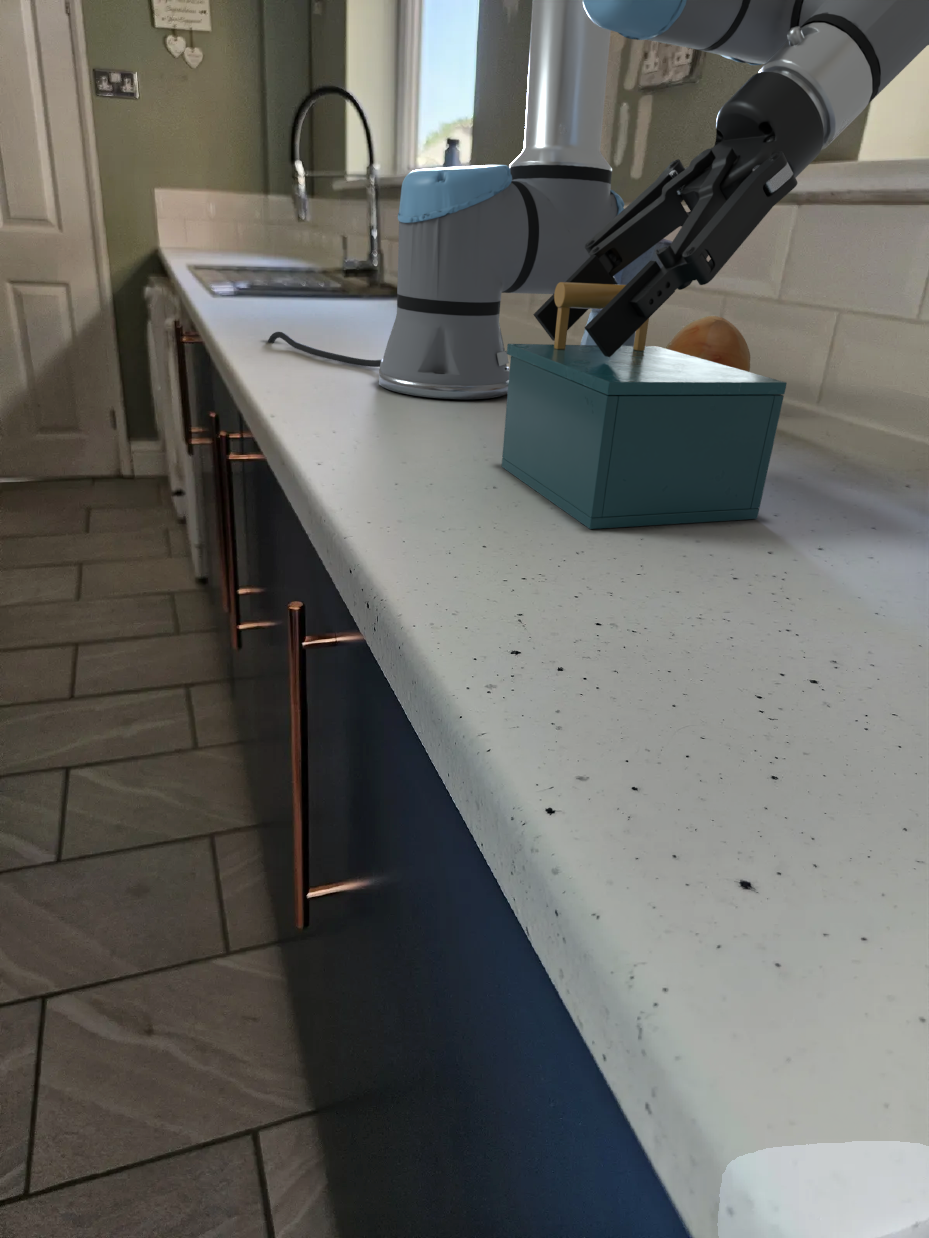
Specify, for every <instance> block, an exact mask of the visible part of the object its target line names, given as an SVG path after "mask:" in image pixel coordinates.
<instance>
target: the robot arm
mask: <svg viewBox="0 0 929 1238" xmlns="http://www.w3.org/2000/svg"><path fill="white" fill-rule="evenodd" d="M531 5H532V6H531V22H530V39H529V55H528V70H527V71H528V74H527V89H526V91H527V92H526V105H525V107H526V109H525V122H524V123H525V124H524V125H525V126H524V128H525V129H524V139H523V149H522V151H521V153H520V154H519V155H518V156H517V157H516V158H515V159H514V160H513V161H512V162H511V163H510V164H509V165H507V164H485V165H484V164H483V165H466V166H465V165H462V166H447V167H446V166H445V167H433V168H432V167H431V168H420V169H415V170H412V171H410V172H409V173H407V175H406V176H405V177H404V179H403V181H402V183H401V190H400V200H399V209H398V213H397V221H398V246H397V247H398V249H397V250H398V252H397V256H398V257H397V287H396V288H397V290H396V291H397V293H396V294H397V295H396V315H395V319H394V322H393V326H392V328H391V331H390V334H389V336H388V340H387V344H386V346H385V350H384V354H383V358H382V359H366V358H365V359H364V358H357V357H353V356H348V355H342V354H338V353H334V352H330V351H325V350H323V349H318V348H315V347H312V346H310V345H306V344H305V343H304V344H303V343H300V342H297V341H296V340H295V339H293V338H292V337H290V336H289V335H288V334H286V333H285V332H283V331H275V332H273V333H272V334H271V335H269V337H268V339H267V343H269V344H270V343H271V344H272V343H275V342H276V340H277V339H281V340H283V341H284V342H286V343H287V344H288V345H289V346H291V347H292V348H294V349H297V350H299V351H302V352H304V353H307V354H310V355H313V356H316V357H320V358H323V359H328V360H331V361H335V362H336V361H337V362H340V363H345V364H350V365H356V366H361V367H368V368H369V367H370V368H379V369H378V384H379V386H381V387H382V388H384V389H387V390H389V391H391V392H396V393H399V394H405V395H410V396H415V397H422V398H432V399H442V400H443V399H444V400H482V399H483V400H485V399H492V398H499V397H503V396H505V395H508V383H509V372H510V366H508V365H509V364H510V361H509V355H508V354H507V350H506V349H505V343H504V340H503V339H504V338H503V334H502V329H501V325H500V314H501V313H500V312H501V302H502V301H501V300H502V294H530V295H532V294H533V295H551V296H550V297H549V298H547V300H546V301H545V302H544V303H543V304H542V305H541V306H540V307H539V308H538V309H537V310H536V311H535V312H534V313H533V317H534V318H535V319H536V320H537V322H538V323H539V325H540V326H541V327H542V328H543V330H544V331H545V332H546V334H547V336H548V337H549V338H550V339H551V340H552V341H553V342H554V341H555V332H556V322H557V312H558V307H557V306H556V304H555V300H554V293H555V288H556V286H557V284H558V283H560V282H571V283H593V284H615V285H617V284H618V283H617V281H616V279H615V277H614V275H615V274H617V273H618V272H619V271H621V270H622V269H624V268H625V267H626V266H628V265H629V264H630V263H632V262H633V261H634V260H636V259H637V258H638V257H640V256H641V255H642V254H644V253H645V252H646V251H648V250H649V249H650V248H652V247H653V246H654V245H656V244H657V243H658V242H660V241H661V240H662V239H666V238H667V237H668V236H669V235H670V234H671V233H673V232H675V231H676V230H677V229H679V228H680V229H679V230H678V232H677V234H676V235H675V237H673V238H674V239H672V243H671V245H669V246H668V247H667V246H666V247H663V248H660V249H659V251H660V252H659V251H658V249H657V250H656V251H655V253H656V255H657V256H658V258H659V260H660V261H661V263H662V265H663V267H662V268H660V267H659V265H658V263H657V262H656V261H649V262H648V263H647V264H646V265H645V267H644V268H643V269H642V270H641V271H640V272H639V273H638V274H637V275H636V276H635V277H634V278H633V279H632V280H631V281H630V282H629V283H628V284H627V285H626V286H625V287H624V288H623V289H622V290H621V291H620V292H619V293H618V294H617V295H616V296H615V297H614V298H613V299H612V300H611V301H610V302H609V303H608V304H607V305H606V306H605V307H604V308H603V309H602V310H601V311H600V312H599V313H598V314H597V315H596V316H595V317H594V318H593V319H592V320H591V321H590V322H589V323H588V324H587V323H586V324H587V325H586V324H585V326H584V330H585V329H586V331H587V332H588V333H589V335H590V336H591V338H592V339H593V340H594V342H595V343H596V345H597V346H598V347H599V349H600V350H601V351H602V353H603V354H604V356H606V357H611V356H612V355H613V354H614V353H615V352H616V351H617V350H618V349H619V348H620V347H621V346H622V345H623V344H624V343H625V342H626V341H627V340H628V339H629V338H630V337H631V336H632V335H633V334H634V333H635V332H636V331H637V330H638V329H639V328H640V327H641V326H642V325H643V324H644V322H645V321H646V320H647V319H648V318H649V319H650V318H651V317H652V316H653V314H655V313H656V312H657V311H658V309H660V307H661V306H663V305H664V303H666V301H668V299H669V298H671V296H672V295H674V294H675V292H676V290H679V291H680V290H683V289H687V288H688V287H689V286H690V285H691V284H692V283H693V282H694V281H696V282H697V283H698V285H699V286H705V285H707V284H709V283H710V282H712V280H713V279H714V278H715V277H716V276H717V275H718V273H719V272H720V271H721V270H722V268H724V266H725V265H726V264H727V262H728V261H729V260H730V259H731V257H733V255H734V254H735V253H736V252H737V251H738V249H739V248H740V247H741V246H742V244H743V243H744V242H745V241H746V240H747V239H748V237H749V236H750V235H751V234H752V233H753V232H754V230H755V229H756V228H757V227H758V226H759V224H760V223H761V222H762V221H763V220H764V218H765V217H766V216H767V215H768V213H769V212H770V211H771V210H772V209H773V208H774V206H775V205H777V204H778V203H779V202H780V201H781V200H782V199H783V198H785V197H786V196H787V195H789V193H791V192H792V191H793V190H794V189H795V188H796V187H797V185H798V181H797V177H799V175H801V173H802V172H803V171H804V170H805V169H806V168H807V167H808V166H809V165H810V164H811V163H812V162H813V161H814V160H815V159H816V158H817V157H818V156H819V155H820V153H821V151H823V150H825V149H827V148H828V147H829V146H830V144H832V143H833V141H834V140H835V139H836V138H838V137H839V136H840V135H841V133H842V132H843V131H844V130H845V129H846V128H847V127H849V125H851V124H852V123H853V122H854V120H856V119H857V117H858V116H859V115H861V114H862V112H864V110H865V109H866V107H867V106H868V105H869V104H870V103H871V102H872V101H873V100H874V99H875V98H876V97H878V95H879V94H880V93H881V92H883V90H884V89H886V87H887V86H889V84H890V83H891V82H892V81H893V80H894V79H895V78H896V77H898V75H899V74H901V72H902V71H903V70H904V69H905V68H907V66H908V65H909V64H911V62H912V61H914V60H915V58H917V56H919V55H920V54H921V52H923V51H924V50H925V48H927V47H928V46H929V0H532V3H531ZM612 32H615V33H618V35H620V36H622V37H623V38H626V39H629V40H637V41H644V40H645V41H651V42H656V43H662V44H666V45H672V46H677V47H683V48H689V49H692V50H693V49H694V50H697V51H700V52H701V51H702V52H705V53H711V54H714V55H715V54H716V55H719V56H722V57H723V58H725V59H728V60H732V61H734V62H736V63H740V64H741V63H742V64H748V65H750V66H761V65H762V67H761V68H760V69H759V70H758V72H757V73H755V74H753V75H752V76H751V77H750V78H748V79H747V81H746V82H745V83H744V84H743V85H742V86H740V88H739V89H738V90H737V91H736V92H735V93H734V94H732V96H731V97H730V98H729V99H728V100H727V101H726V102H725V103H724V104H722V106H721V108H720V109H719V111H718V113H717V116H716V122H715V130H716V132H715V133H716V134H715V142H714V145H713V146H712V147H711V148H706V149H704V150H703V151H702V152H700V153H699V154H698V155H696V156H695V157H694V158H692V160H691V161H690V163H689V165H688V166H686V167H685V166H684V164H683V163H682V161H681V159H679V158H678V159H675V160H672V161H671V162H670V163H669V164H668V165H667V167H666V168H665V169H664V170H663V171H662V172H661V174H659V176H658V177H657V178H656V179H655V180H654V181H653V182H652V183H651V184H650V185H649V186H648V187H646V189H644V190H643V191H642V192H641V193H640V194H639V195H638V196H637V197H636V198H635V199H633V200H632V201H631V202H630V203H629V204H628V205H627V206H626V207H625V202H624V200H623V198H622V196H620V194H618V193H617V192H615V190H614V189H611V188H612V175H613V168H612V166H611V165H610V163H608V161H607V160H606V158H605V157H604V156H603V154H602V152H601V148H602V136H603V127H604V126H603V125H604V113H605V112H604V111H605V103H606V91H607V78H608V69H609V68H608V67H609V58H610V46H611V36H612V35H611V34H612ZM683 201H684V203H685V204H686V206H687V207H688V210H689V211H687V210H686V208H685V207H684V205H683V203H682V202H683ZM708 257H709V260H708ZM588 310H589V309H583V308H570V310H569V319H568V328H567V332H568V331H569V330H570V329H571V327H573V326H574V324H575V323H577V321H578V320H579V319H581V317H582V316H583V315H585V314H586V313H587V311H588Z"/></svg>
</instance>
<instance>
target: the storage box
mask: <svg viewBox="0 0 929 1238" xmlns="http://www.w3.org/2000/svg"><path fill="white" fill-rule="evenodd" d="M509 360H510V361H509V370H510V372H509V383H508V393H507V394H506V395H507V397H506V407H505V409H506V410H505V421H504V432H503V433H504V434H503V442H502V443H503V444H502V458H501V468H502V469H505V470H506V471H507V472H509V473H510V474H511V475H512V476H514V477H516V478H517V479H518V480H520V481H521V482H522V483H524V484H525V485H527V486H528V487H530V488H531V489H532V490H534V491H535V492H537V493H538V494H540V495H541V496H542V497H544V498H545V499H546V500H548V501H549V502H551V503H552V504H554V505H555V506H557V507H558V508H560V509H561V510H562V511H563V512H565V513H566V514H568V515H569V516H571V517H572V518H574V519H575V520H576V521H577V522H579V523H580V524H582V525H583V526H584V527H586V528H588V529H589V530H598V529H613V528H615V529H616V528H632V527H647V526H648V527H649V526H661V525H662V526H663V525H664V526H665V525H678V524H679V525H680V524H694V523H695V524H696V523H697V524H698V523H711V522H713V523H714V522H728V521H729V522H730V521H739V520H740V521H743V520H757V519H758V516H759V511H760V509H761V504H762V499H763V494H764V491H765V484H766V480H767V475H768V472H769V471H768V470H769V466H770V462H771V458H772V452H773V447H774V444H775V439H776V434H777V429H778V425H779V421H780V415H781V411H782V406H783V401H784V394H763V395H607V394H604V393H602V392H599V391H597V390H594V389H592V388H589V387H587V386H584V385H582V384H579V383H577V382H575V381H572V380H570V379H567V378H565V377H562V376H560V375H557V374H555V373H552V372H550V371H547V370H545V369H542V368H540V367H537V366H535V365H533V364H530V363H528V362H525V361H523V360H520V359H518V358H515V357H513V356H510V359H509Z"/></svg>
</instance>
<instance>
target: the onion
mask: <svg viewBox="0 0 929 1238" xmlns="http://www.w3.org/2000/svg"><path fill="white" fill-rule="evenodd" d="M748 345H749V344H748V342H747V341H746V339H745V338H744V336H743V334H742V332H741V331H740V330H739V329H738V328H737V327H736V325H734V324H733V323H732V322H730V321H729V320H727V319H726V318H724V317H722V316H719V315H707V316H704V317H700V318H698V319H696V320H693V321H691V322H689V323H688V324H686V325H685V326H683V328H681V329H680V330H679V331H678V332H677V333H676V334H675V335H674V336H673V338H672V339H671V341H669V342H668V343H667V345H666V346H665V349H669V350H672V351H676V352H679V353H683V354H686V355H690V356H694V357H697V358H701V359H704V360H708V361H711V362H715V363H719V364H722V365H726V366H729V367H733V368H736V369H740V370H744V371H747V372H751V371H750V370H751V352H750V348H749V346H748Z"/></svg>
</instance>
